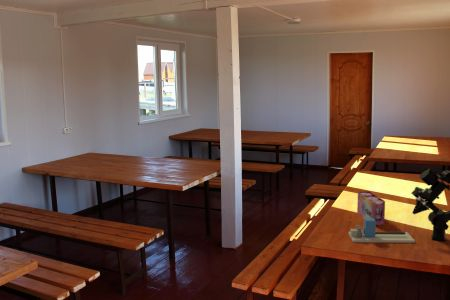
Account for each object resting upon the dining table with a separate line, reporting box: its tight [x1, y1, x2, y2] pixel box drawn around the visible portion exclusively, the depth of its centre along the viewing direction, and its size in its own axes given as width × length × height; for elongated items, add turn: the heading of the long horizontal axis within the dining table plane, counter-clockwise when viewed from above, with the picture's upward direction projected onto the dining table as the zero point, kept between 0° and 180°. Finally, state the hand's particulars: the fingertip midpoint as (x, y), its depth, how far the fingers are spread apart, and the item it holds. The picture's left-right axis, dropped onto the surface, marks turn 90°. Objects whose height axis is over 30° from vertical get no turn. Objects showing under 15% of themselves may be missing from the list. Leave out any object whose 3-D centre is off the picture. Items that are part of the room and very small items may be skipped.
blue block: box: [362, 218, 377, 237], centre depth 240 cm, size 5×4×8 cm
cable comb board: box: [348, 224, 416, 244], centre depth 240 cm, size 30×12×6 cm, turn 86°
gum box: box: [356, 190, 386, 226], centre depth 270 cm, size 24×8×14 cm, turn 5°
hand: (413, 213), depth 237 cm, fingers closed
